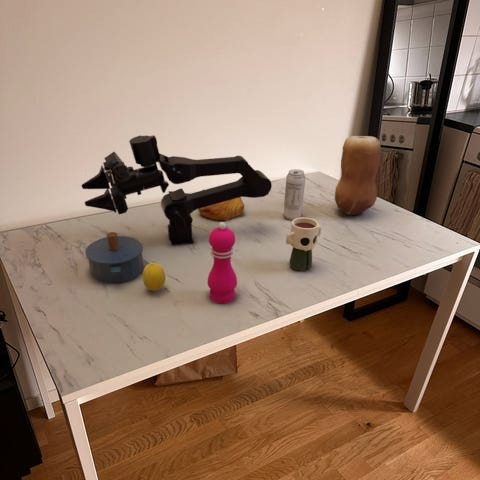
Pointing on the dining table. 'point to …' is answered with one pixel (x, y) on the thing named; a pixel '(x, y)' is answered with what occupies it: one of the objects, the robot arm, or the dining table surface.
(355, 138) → the butternut squash
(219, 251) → the pepper mill
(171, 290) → the dining table surface
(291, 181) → the energy drink can
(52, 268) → the dining table surface
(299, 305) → the dining table surface
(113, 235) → the pot lid
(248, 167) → the robot arm
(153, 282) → the lemon
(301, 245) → the character mug
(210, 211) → the croissant
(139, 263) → the pot
